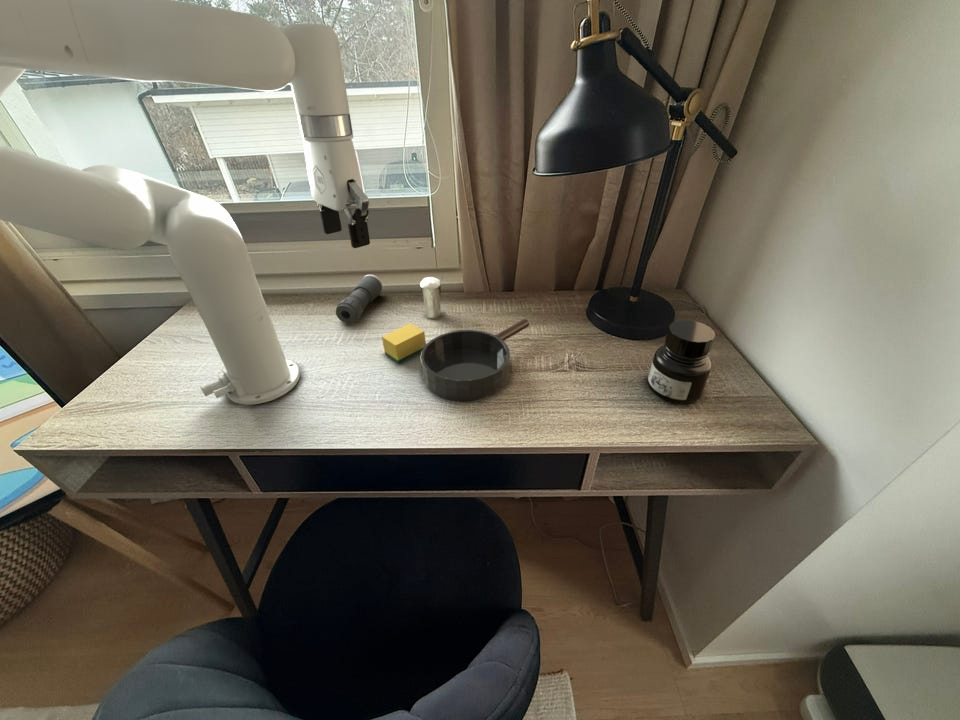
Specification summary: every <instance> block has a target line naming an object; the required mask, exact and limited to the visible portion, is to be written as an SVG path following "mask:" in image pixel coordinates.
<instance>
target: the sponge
mask: <svg viewBox="0 0 960 720" xmlns="http://www.w3.org/2000/svg"><path fill="white" fill-rule="evenodd" d="M381 339H382V345H383V349H384V355H385V356H386V357H387V358H389V359H390V360H392V361H393V362H394V363H397V364H398V365H400V364H402V363H404V362H406V361H407V360H409V359H411V358H413V357H415V356H417V355H419V354H421V352H422V350H423V348H424V347H425V345H426V344H427V342H426V341H427V340H426V333H425V331H424V329H421V327H420V328H419V327H418V326H416V325H414V324H413V323H408V324H406V325H404V326H402V327H399V328H397V329H395V330H393V331H391V332H389V333H387V334H384V335H382V336H381Z"/></svg>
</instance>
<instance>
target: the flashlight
mask: <svg viewBox="0 0 960 720" xmlns="http://www.w3.org/2000/svg"><path fill="white" fill-rule="evenodd" d="M383 288H384V287H383V283H382V281H381V279H380V278H379V277H377V276H376V275H374V274H366V275H364V276H363V277H362V278H361V279H360V280H359V282H358V283H357V285H356V286H355V287H353V290H352V292H351V294H349V295H347V297H346V298H344V299H342V300H341V301H340V302H339V303H338V304H337V306H336V309H335V315H336V317H337V318H338V320H339V321H341V322H342V323H344V324H347V325H349V324H353V323H355V322H357V321H358V320H359V319H360V317H361V316H362V313H363V312H364V310H365V308H366V306H367V305H370V304H371V303H372V302H373V301H374V300H375V299H376V298H377V297H378V296H379V295H380V294H381V293H382V291H383V290H384V289H383Z"/></svg>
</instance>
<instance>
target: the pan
mask: <svg viewBox="0 0 960 720" xmlns="http://www.w3.org/2000/svg"><path fill="white" fill-rule="evenodd" d="M495 335H496V334H493V333H490V332H487V331H483V330H476V329H458V330H452V331H449V332H445V333H442V334H440V335H437V336H435V337H434V338H432V339H431V340H430V341H428V342H426V345H425V347H424V348H423V350H422V352H421V353H420V357H419V359H420V366H421V373H422V379H423V382H424V385H425V386H426V387H427V389H428V390H429V391H430V392H432V393H433V394H434V395H436V396H439V397H440V398H442V399H446V400H450V401H456V402H473V401H478V400H482V399H485V398H488V397H490V396H493V395H494V394H496V393H498V392H499V391H500V390H502V389H503V388H504V387H505V385H506V384H507V382H508V381H509V378H510V367H511V366H510V365H511V364H510V363H511V354H510V352H511V351H510V348H509V346H508V344H507V343H506V342H505V341H503V340H502V339H500V338H499V337H497V336H495Z"/></svg>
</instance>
